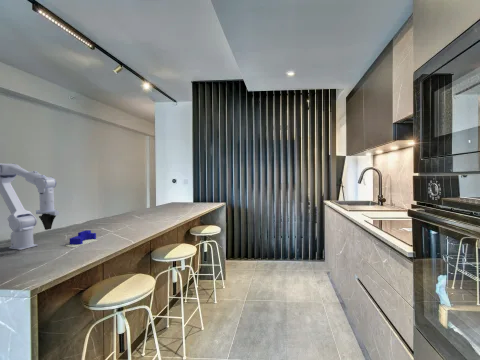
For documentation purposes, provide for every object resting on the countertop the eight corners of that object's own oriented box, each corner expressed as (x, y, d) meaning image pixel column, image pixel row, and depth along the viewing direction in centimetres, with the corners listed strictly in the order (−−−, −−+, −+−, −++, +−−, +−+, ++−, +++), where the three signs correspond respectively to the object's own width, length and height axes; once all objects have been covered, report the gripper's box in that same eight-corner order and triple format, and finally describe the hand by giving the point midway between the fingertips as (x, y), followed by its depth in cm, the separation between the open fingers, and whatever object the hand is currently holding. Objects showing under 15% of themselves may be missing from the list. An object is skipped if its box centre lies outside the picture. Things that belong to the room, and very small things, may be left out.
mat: (65, 246, 130) (65, 245, 130) (90, 239, 142) (90, 238, 142) (73, 247, 127) (73, 246, 127) (98, 240, 140) (98, 239, 140)
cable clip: (85, 230, 144) (95, 230, 143) (86, 238, 144) (96, 238, 143) (69, 235, 132) (80, 235, 131) (69, 244, 132) (80, 244, 132)
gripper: (65, 201, 127) (66, 228, 127) (46, 200, 132) (47, 226, 133) (49, 202, 120) (51, 231, 121) (30, 202, 126) (31, 229, 126)
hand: (48, 229), depth 126 cm, fingers closed
